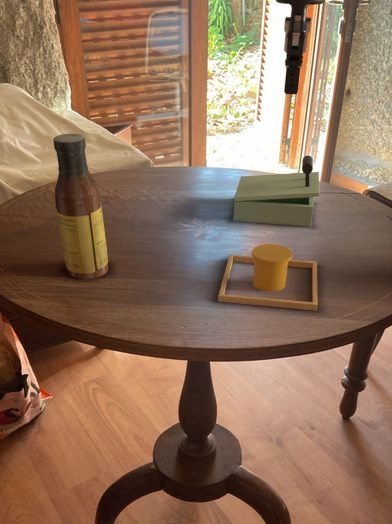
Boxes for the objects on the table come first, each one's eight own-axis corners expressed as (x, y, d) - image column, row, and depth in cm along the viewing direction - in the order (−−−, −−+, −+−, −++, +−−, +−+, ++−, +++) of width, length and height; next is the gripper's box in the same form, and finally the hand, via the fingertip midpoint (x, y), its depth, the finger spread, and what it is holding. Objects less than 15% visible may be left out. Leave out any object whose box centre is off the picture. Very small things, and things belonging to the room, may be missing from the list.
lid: (318, 175, 105) (318, 149, 102) (319, 196, 96) (319, 168, 93) (241, 179, 108) (239, 154, 105) (234, 201, 98) (232, 174, 96)
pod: (289, 278, 83) (293, 245, 81) (288, 296, 79) (292, 262, 76) (251, 275, 84) (253, 242, 81) (247, 293, 80) (250, 259, 77)
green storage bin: (310, 207, 109) (313, 185, 106) (310, 230, 99) (313, 207, 97) (239, 202, 110) (241, 180, 108) (232, 224, 101) (234, 201, 99)
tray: (315, 271, 86) (316, 261, 86) (315, 315, 76) (317, 304, 75) (229, 263, 88) (229, 254, 87) (217, 305, 77) (218, 295, 76)
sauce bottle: (98, 261, 88) (86, 127, 77) (116, 277, 84) (105, 138, 73) (58, 271, 85) (39, 133, 74) (74, 288, 81) (57, 145, 70)
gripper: (330, -34, 77) (314, 102, 87) (328, -35, 88) (314, 87, 98) (275, -35, 78) (265, 100, 88) (279, -36, 89) (270, 85, 99)
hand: (290, 93), depth 93 cm, fingers closed
